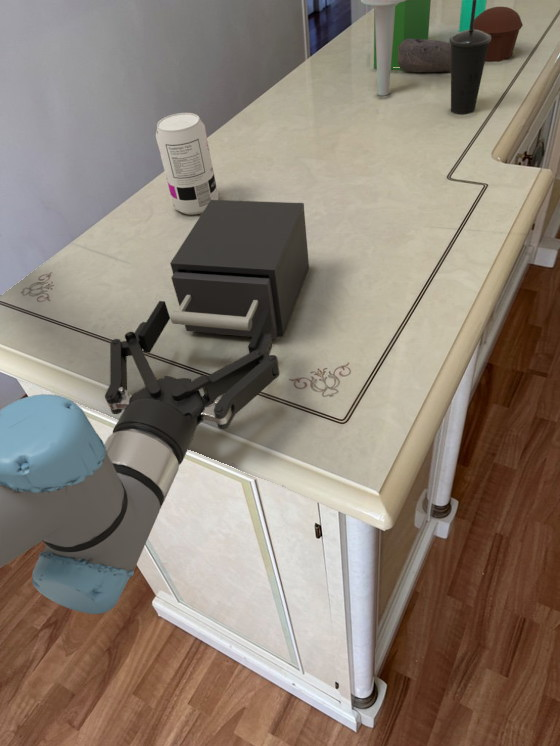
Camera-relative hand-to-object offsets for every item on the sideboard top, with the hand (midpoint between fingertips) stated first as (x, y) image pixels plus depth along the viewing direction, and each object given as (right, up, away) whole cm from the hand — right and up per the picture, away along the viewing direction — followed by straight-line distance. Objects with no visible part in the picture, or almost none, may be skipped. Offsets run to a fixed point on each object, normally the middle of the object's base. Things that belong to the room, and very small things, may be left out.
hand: (215, 313), depth 72 cm
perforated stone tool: (+44, +65, +68) cm, 103 cm away
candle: (+57, +80, +81) cm, 127 cm away
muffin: (+60, +70, +71) cm, 116 cm away
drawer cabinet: (+4, +4, +13) cm, 14 cm away
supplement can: (-7, +23, +34) cm, 42 cm away
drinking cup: (+46, +48, +51) cm, 84 cm away
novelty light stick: (+31, +56, +61) cm, 89 cm away
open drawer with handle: (+2, +1, +9) cm, 10 cm away
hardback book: (+39, +73, +77) cm, 113 cm away
